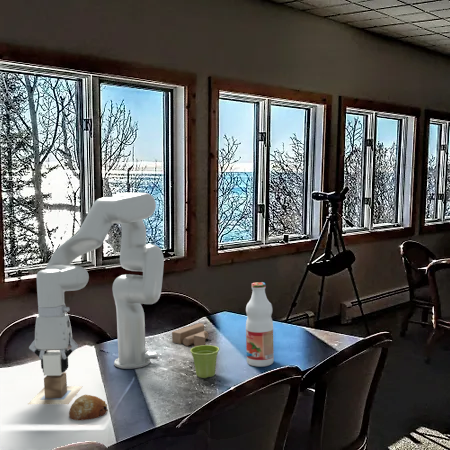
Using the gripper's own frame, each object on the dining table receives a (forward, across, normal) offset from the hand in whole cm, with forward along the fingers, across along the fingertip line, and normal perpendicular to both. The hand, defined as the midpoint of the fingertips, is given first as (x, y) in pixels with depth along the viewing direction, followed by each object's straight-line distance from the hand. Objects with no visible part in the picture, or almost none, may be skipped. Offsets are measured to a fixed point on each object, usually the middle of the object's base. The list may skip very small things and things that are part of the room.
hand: (55, 370), depth 173 cm
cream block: (+1, 0, 0) cm, 1 cm away
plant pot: (+9, -43, -20) cm, 48 cm away
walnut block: (+8, 0, 0) cm, 8 cm away
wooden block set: (+10, -38, -60) cm, 71 cm away
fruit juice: (+9, -61, -32) cm, 69 cm away
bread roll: (+9, -14, +13) cm, 21 cm away
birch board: (+9, 0, 0) cm, 9 cm away
